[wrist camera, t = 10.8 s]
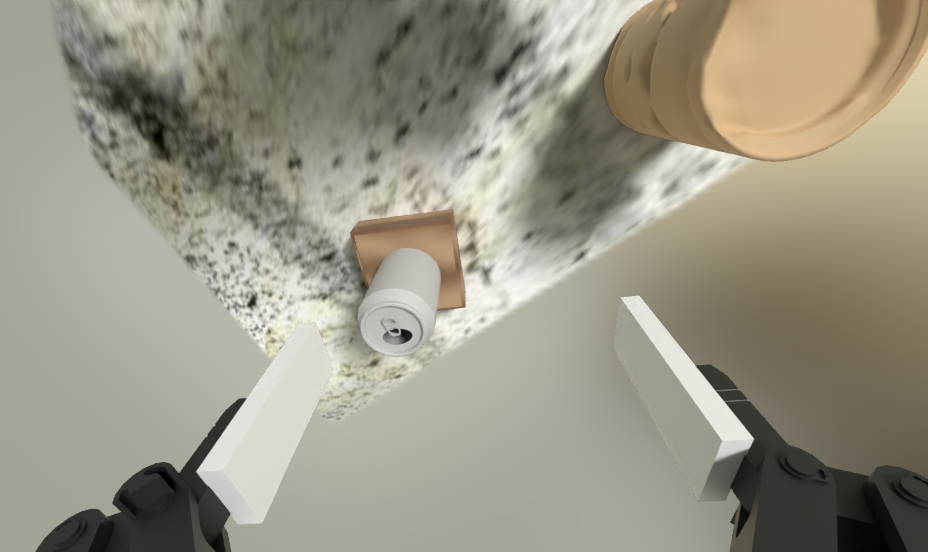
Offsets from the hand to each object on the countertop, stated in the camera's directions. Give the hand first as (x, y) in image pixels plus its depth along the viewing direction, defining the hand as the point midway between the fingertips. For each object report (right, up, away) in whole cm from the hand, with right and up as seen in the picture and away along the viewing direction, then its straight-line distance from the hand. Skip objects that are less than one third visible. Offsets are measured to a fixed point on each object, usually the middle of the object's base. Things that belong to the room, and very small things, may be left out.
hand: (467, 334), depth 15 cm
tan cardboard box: (-7, +5, +31) cm, 32 cm away
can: (-7, +3, +28) cm, 29 cm away
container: (+21, +24, +21) cm, 38 cm away
